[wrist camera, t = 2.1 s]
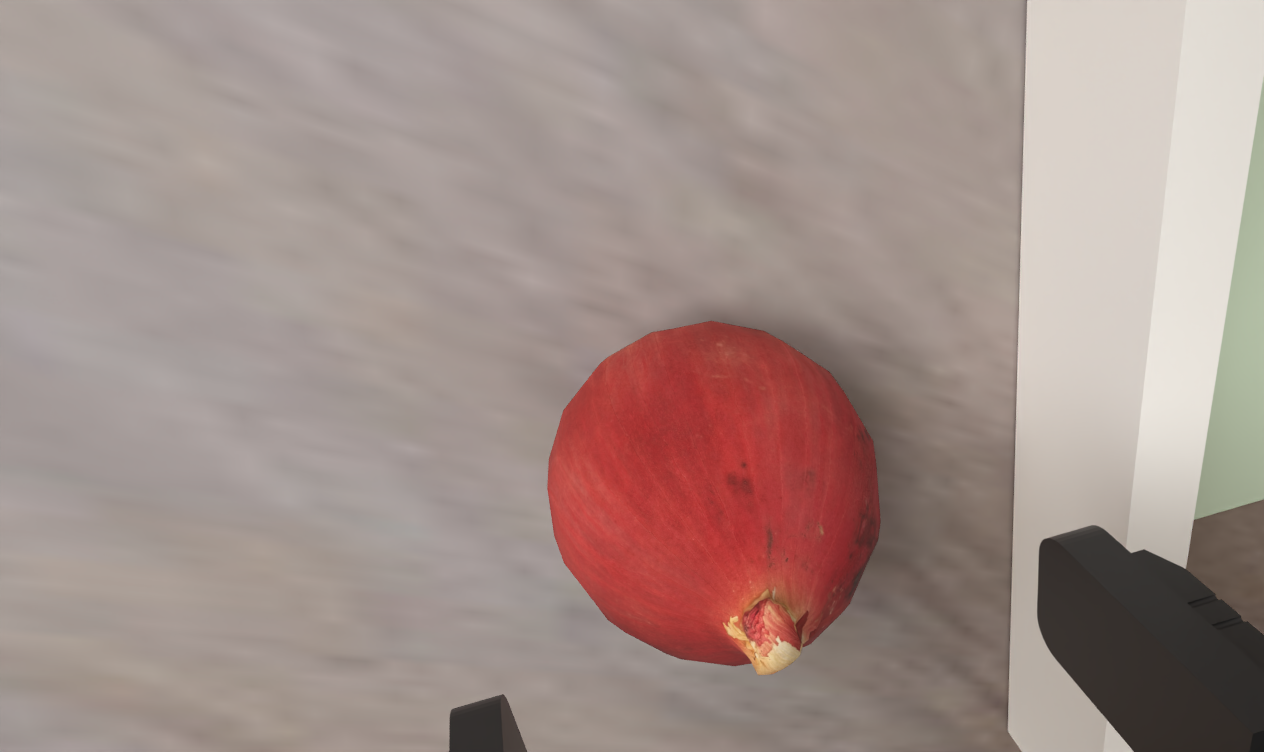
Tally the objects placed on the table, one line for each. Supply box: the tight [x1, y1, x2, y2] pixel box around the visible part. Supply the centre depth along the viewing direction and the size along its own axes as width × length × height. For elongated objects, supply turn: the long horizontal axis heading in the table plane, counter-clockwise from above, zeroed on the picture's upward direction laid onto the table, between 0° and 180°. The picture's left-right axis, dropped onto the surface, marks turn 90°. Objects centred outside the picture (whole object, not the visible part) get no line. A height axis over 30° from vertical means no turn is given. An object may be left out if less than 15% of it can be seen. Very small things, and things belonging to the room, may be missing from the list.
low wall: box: [1008, 0, 1264, 752], centre depth 19 cm, size 26×2×4 cm, turn 11°
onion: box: [547, 321, 880, 675], centre depth 15 cm, size 6×6×8 cm
